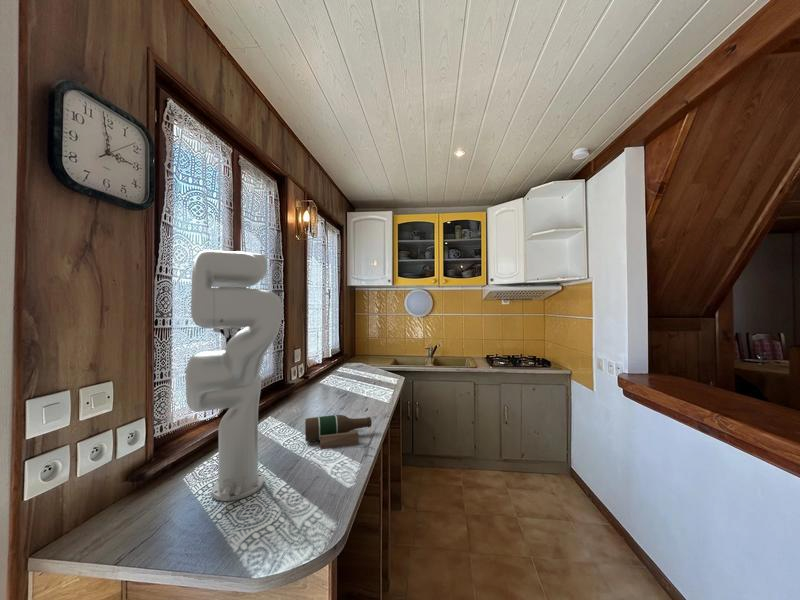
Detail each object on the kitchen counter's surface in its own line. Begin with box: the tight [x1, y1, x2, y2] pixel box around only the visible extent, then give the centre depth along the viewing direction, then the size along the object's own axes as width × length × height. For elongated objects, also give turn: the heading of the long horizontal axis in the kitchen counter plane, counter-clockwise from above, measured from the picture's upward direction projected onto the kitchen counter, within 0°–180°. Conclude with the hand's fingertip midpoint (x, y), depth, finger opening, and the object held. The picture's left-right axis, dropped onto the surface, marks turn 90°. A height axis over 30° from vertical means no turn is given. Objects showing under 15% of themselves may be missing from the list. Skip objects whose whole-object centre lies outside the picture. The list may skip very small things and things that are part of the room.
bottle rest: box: [319, 429, 359, 450], centre depth 118 cm, size 14×13×4 cm
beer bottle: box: [304, 414, 373, 442], centre depth 118 cm, size 8×8×24 cm
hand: (231, 349), depth 105 cm, fingers closed
